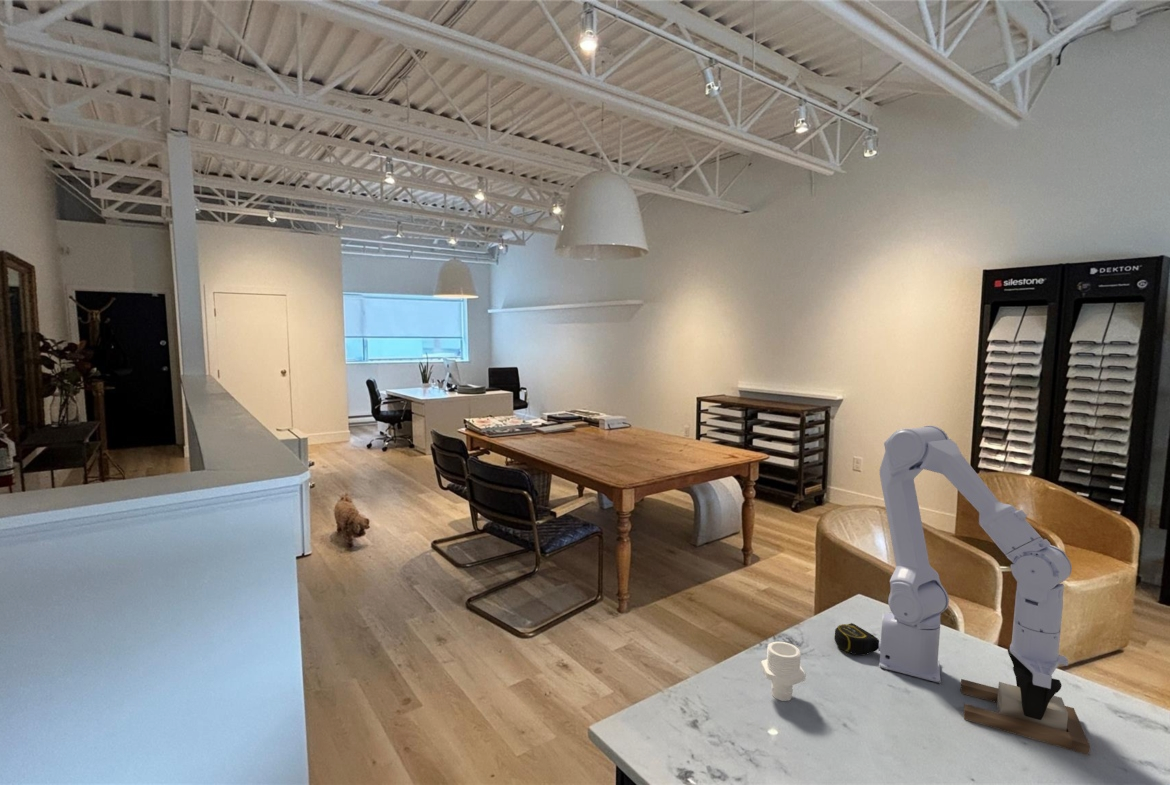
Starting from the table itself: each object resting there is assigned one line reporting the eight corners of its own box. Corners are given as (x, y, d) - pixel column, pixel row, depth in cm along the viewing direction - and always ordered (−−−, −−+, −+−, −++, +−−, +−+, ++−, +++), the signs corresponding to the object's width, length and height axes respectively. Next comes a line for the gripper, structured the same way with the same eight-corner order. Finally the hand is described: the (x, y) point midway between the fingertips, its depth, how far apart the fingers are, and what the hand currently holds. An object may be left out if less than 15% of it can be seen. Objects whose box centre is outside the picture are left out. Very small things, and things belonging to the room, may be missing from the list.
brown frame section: (964, 719, 90) (965, 710, 89) (960, 687, 98) (961, 678, 98) (1089, 755, 82) (1090, 745, 82) (1072, 716, 91) (1073, 708, 90)
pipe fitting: (751, 690, 96) (753, 645, 95) (782, 679, 99) (784, 635, 99) (780, 712, 90) (782, 664, 90) (812, 700, 94) (814, 653, 93)
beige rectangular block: (1000, 720, 89) (1002, 695, 89) (996, 704, 93) (998, 681, 93) (1065, 738, 85) (1068, 713, 85) (1059, 721, 89) (1061, 697, 89)
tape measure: (881, 655, 108) (882, 636, 108) (852, 661, 106) (853, 642, 106) (853, 638, 115) (854, 620, 114) (826, 643, 112) (827, 624, 112)
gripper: (1081, 653, 80) (1073, 744, 81) (1059, 612, 92) (1052, 692, 93) (1019, 639, 83) (1012, 727, 85) (1006, 602, 96) (1000, 679, 97)
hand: (1029, 708), depth 89 cm, fingers closed on beige rectangular block, 4 cm apart
